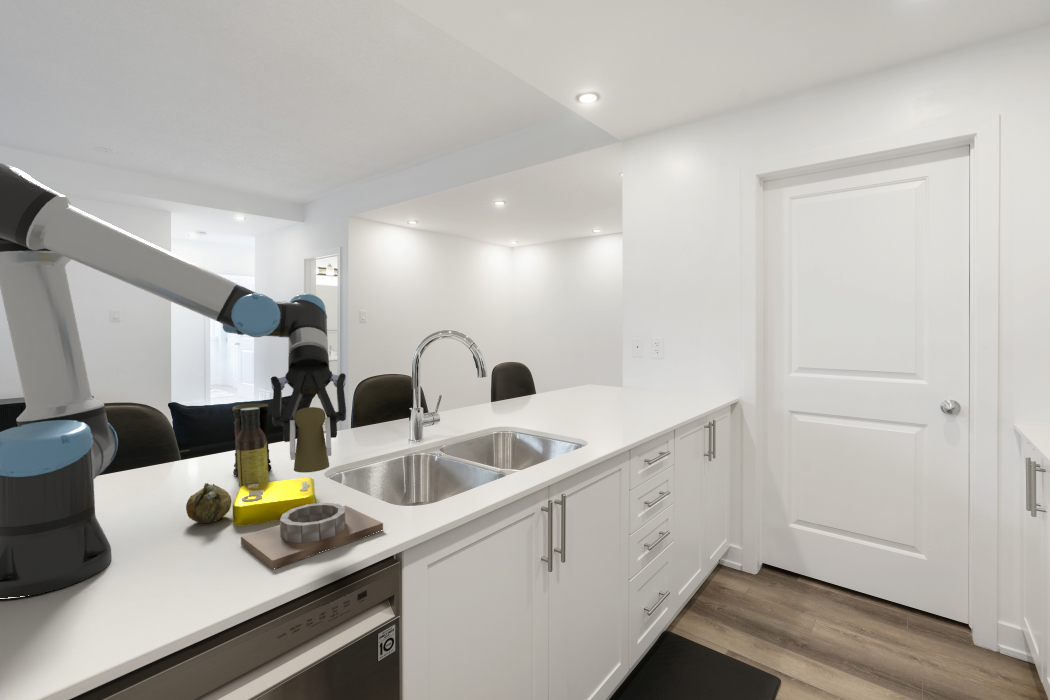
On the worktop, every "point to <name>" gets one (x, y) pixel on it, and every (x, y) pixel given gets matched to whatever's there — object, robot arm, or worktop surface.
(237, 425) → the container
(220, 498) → the onion
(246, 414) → the sauce bottle
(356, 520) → the ring stand
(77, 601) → the worktop surface
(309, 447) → the cork
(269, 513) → the element tile
